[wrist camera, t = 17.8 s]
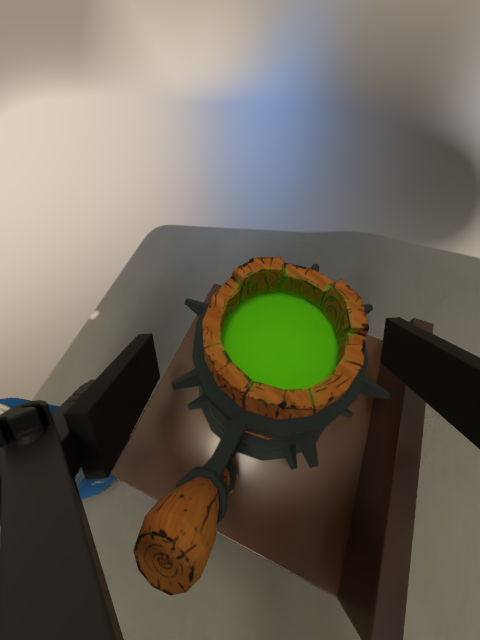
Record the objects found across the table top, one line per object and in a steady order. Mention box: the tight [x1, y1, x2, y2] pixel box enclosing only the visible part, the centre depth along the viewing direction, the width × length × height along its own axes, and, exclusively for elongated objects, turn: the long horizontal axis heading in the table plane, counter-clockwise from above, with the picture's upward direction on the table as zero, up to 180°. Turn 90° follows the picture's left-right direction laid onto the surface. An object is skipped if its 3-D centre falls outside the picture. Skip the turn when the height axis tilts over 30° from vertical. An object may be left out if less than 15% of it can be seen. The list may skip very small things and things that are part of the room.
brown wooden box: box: [111, 284, 433, 640], centre depth 19 cm, size 16×16×11 cm
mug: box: [134, 257, 390, 595], centre depth 13 cm, size 13×10×12 cm
